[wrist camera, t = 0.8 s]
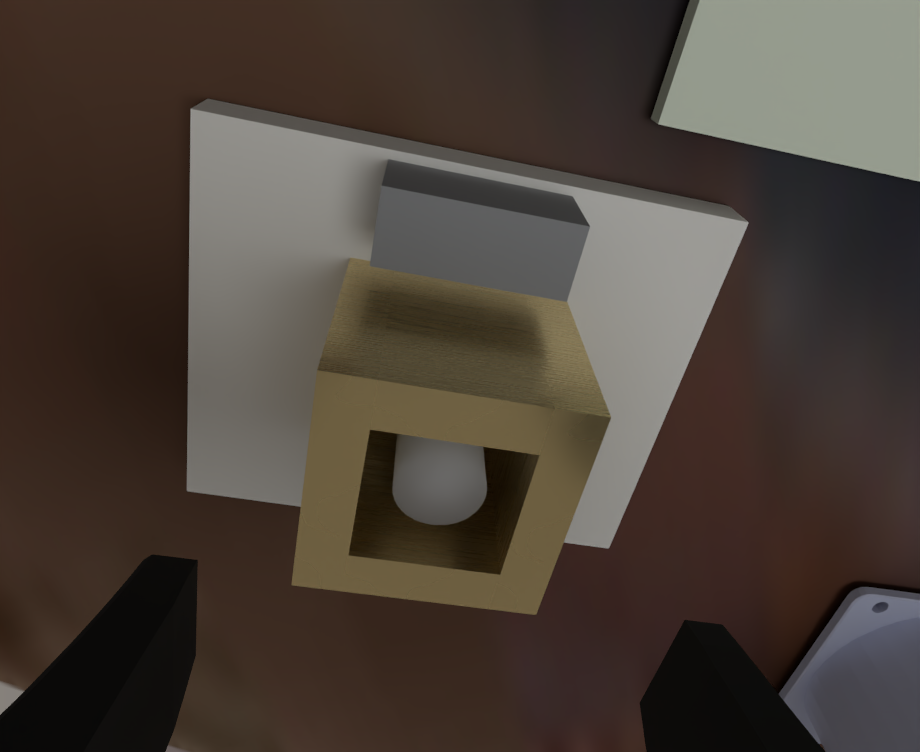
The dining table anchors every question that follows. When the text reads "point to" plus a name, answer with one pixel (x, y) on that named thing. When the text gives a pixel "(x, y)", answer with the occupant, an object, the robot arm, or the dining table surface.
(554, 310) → the brass collar
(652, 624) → the dining table surface
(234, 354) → the block
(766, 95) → the sage mat
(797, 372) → the dining table surface
